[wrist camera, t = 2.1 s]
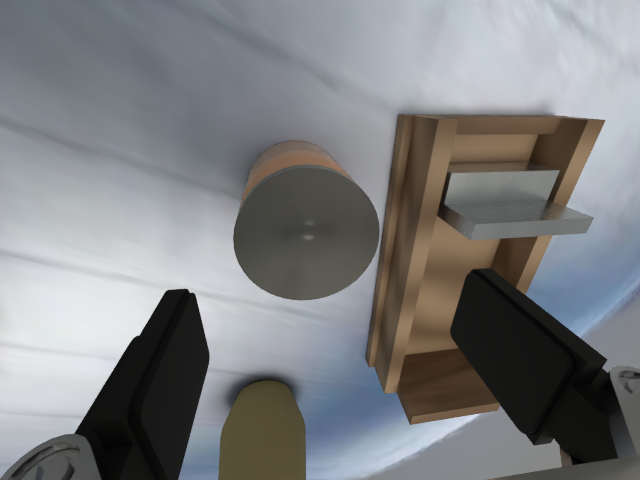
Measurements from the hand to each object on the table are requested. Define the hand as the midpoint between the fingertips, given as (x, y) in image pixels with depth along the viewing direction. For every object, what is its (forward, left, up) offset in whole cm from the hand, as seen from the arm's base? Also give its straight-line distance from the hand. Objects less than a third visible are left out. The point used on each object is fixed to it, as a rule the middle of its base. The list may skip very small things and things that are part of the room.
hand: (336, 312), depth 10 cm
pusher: (-1, +13, -11) cm, 16 cm away
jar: (-1, 0, -12) cm, 12 cm away
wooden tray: (+5, +13, -12) cm, 18 cm away
